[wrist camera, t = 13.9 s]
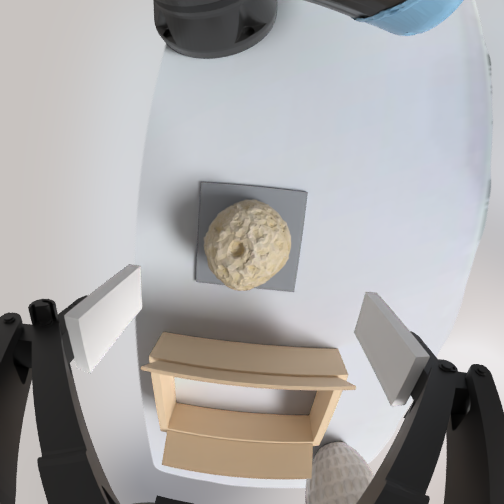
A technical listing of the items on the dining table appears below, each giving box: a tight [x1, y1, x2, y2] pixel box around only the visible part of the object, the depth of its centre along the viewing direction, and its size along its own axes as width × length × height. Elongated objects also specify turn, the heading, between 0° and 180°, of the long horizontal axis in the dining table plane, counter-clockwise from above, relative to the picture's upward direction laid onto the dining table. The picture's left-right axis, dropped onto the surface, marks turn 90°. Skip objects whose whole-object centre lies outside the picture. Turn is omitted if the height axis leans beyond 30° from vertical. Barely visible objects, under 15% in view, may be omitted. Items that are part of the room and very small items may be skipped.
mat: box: [196, 182, 308, 292], centre depth 33 cm, size 12×12×1 cm
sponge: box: [204, 199, 291, 291], centre depth 30 cm, size 9×10×10 cm
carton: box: [141, 332, 356, 479], centre depth 33 cm, size 20×24×11 cm
